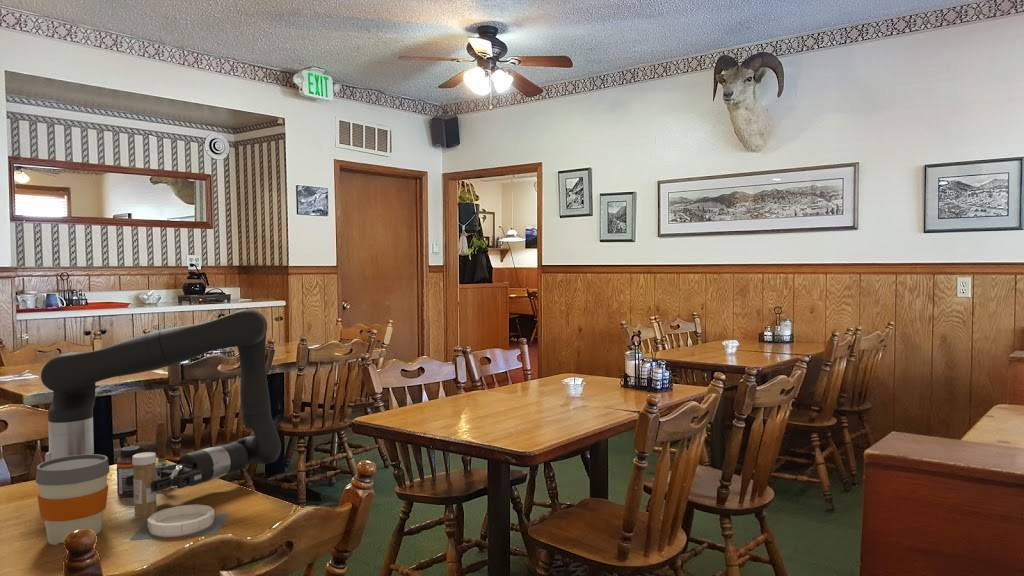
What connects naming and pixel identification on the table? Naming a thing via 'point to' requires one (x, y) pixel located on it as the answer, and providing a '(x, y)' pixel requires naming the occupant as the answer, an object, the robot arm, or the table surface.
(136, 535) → the mat
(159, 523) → the white round tray
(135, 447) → the supplement bottle
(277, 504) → the table surface
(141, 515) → the sprinkles bottle
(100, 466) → the reusable coffee cup
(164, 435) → the hand bell
